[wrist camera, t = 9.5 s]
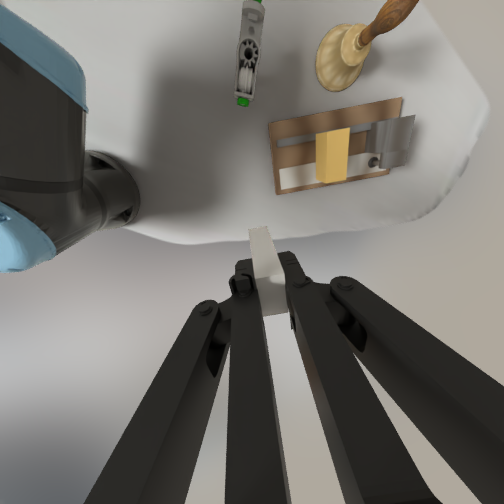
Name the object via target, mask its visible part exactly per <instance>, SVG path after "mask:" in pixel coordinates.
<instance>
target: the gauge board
mask: <svg viewBox="0 0 504 504" xmlns="http://www.w3.org/2000/svg"><path fill="white" fill-rule="evenodd" d="M401 102H402V97H399V98H394V99H389V100H384V101H379V102H374V103H369V104H363V105H358V106H353V107H348V108H343V109H338V110H333V111H328V112H323V113H318V114H313V115H308V116H303V117H297V118H292V119H287V120H282V121H277V122H272V123H269V124H268V126H269V135H270V145H271V154H272V164H273V173H274V183H275V193H276V195H280V194H285V193H291V192H296V191H301V190H307V189H312V188H317V187H323V186H328V185H334V184H339V183H344V182H350V181H355V180H360V179H366V178H371V177H376V176H382V175H387V174H389V170H390V168H393V167H398V166H404V165H405V163H406V158H407V153H408V148H409V144H410V139H411V134H412V129H413V125H414V120H415V115H411V116H406V117H401V118H399V113H400V108H401ZM344 128H350V133H349V147H348V160H347V174H346V180H343V181H337V182H332V183H323V182H321V181H318V180H316V134H318V133H323V132H328V131H334V130H339V129H344Z"/></svg>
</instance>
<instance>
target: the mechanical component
mask: <svg viewBox="0 0 504 504" xmlns="http://www.w3.org/2000/svg"><path fill="white" fill-rule="evenodd" d="M261 1H262V0H246V1H244V2H243V8H242V20H241V30H240V38H239V43H238V46H237V66H236V77H235V88H234V97H235V98H238V101H237V104H238V105H240V106H244V107H248V104H249V101H253V98H254V91H255V83H256V76H257V69H258V64H259V60H260V55H261V50H260V44H261V43H260V42H261V35H262V27H263V20H264V14H265V8H264V6H263V5H262V4H261Z"/></svg>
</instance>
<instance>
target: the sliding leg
mask: <svg viewBox="0 0 504 504" xmlns="http://www.w3.org/2000/svg"><path fill="white" fill-rule="evenodd" d="M349 133H350V128H344V129H339V130H334V131H328V132H323V133H318V134H316V180H318V181H321V182H323V183H332V182H337V181H343V180H346V174H347V160H348V147H349Z"/></svg>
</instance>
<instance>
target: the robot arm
mask: <svg viewBox="0 0 504 504" xmlns="http://www.w3.org/2000/svg"><path fill="white" fill-rule="evenodd" d="M86 113H88V108H87V106H86V80H85V75H84V72H83V70H82V68H81V66H80V65H79V64H78V62H77V61H76V60H75V59H74V57H73V56H72V55H70V54H69V53H68V52H67V51H66V50H65V49H64V48H62V47H61V46H60V45H59V44H57V43H56V42H55V41H53V40H52V39H51V38H49V37H48V36H46V35H45V34H44V33H42V32H41V31H39V30H38V29H37V28H35V27H34V26H32V25H31V24H29V23H28V22H27V21H25V20H24V19H22V18H21V17H19V16H18V15H16V14H15V13H13V12H12V11H10V10H9V9H7V8H6V7H4V6H3V5H2V4H0V272H2V273H12V272H19V271H24V270H27V269H30V268H32V267H34V266H36V265H38V264H40V263H42V262H44V261H47V260H51V259H53V258H54V257H55V256H56V255H58V254H59V253H61V252H62V251H64V250H66V249H67V248H69V247H71V246H72V245H74V244H76V243H77V242H79V241H80V240H82V239H84V238H85V237H87V236H89V235H90V234H92V233H93V232H95V231H101V230H110V229H116V228H119V227H122V226H124V225H125V224H127V223H128V222H130V221H131V220H132V219H133V218H134V217H135V216H136V214H137V212H138V210H139V206H140V196H139V191H138V188H137V186H136V184H135V182H134V180H133V178H132V177H131V175H130V174H129V173H128V172H127V171H126V169H125V168H124V167H123V166H121V165H120V164H119V163H118V162H116V161H115V160H113V159H112V158H110V157H108V156H106V155H104V154H101V153H98V152H94V151H85V135H86ZM248 230H249V238H250V245H251V253H252V258H251V259H245V260H240V261H238V262H237V264H236V265H235V275H233V276H232V277H231V278H230V280H229V286H230V289H231V292H232V296H231V297H230V298H229V299H227V300H225V301H223V302H221V303H219V304H218V303H217V302H216V301H214V300H205V301H203V302H200V303H199V304H198V305H196V306H195V308H194V309H193V310H192V312H191V314H190V316H189V318H188V319H187V321H186V323H185V325H184V326H183V328H182V330H181V332H180V334H179V335H178V337H177V339H176V341H175V343H174V344H173V346H172V348H171V350H170V351H169V353H168V355H167V357H166V358H165V360H164V362H163V364H162V366H161V367H160V369H159V371H158V373H157V374H156V376H155V378H154V380H153V381H152V383H151V385H150V387H149V389H148V390H147V392H146V394H145V396H144V397H143V399H142V401H141V403H140V405H139V406H138V408H137V410H136V412H135V414H134V415H133V417H132V419H131V421H130V423H129V424H128V426H127V428H126V429H125V431H124V433H123V435H122V437H121V438H120V440H119V442H118V444H117V445H116V447H115V449H114V451H113V453H112V455H111V456H110V458H109V460H108V461H107V463H106V465H105V467H104V468H103V470H102V472H101V474H100V476H99V477H98V479H97V481H96V483H95V485H94V486H93V488H92V490H91V492H90V493H89V495H88V497H87V499H86V500H85V502H84V504H184V503H185V500H186V497H187V493H188V490H189V486H190V482H191V479H192V476H193V472H194V469H195V465H196V462H197V458H198V455H199V451H200V448H201V444H202V441H203V437H204V434H205V430H206V427H207V424H208V420H209V417H210V413H211V410H212V406H213V403H214V399H215V396H216V392H217V389H218V385H219V382H220V378H221V375H222V371H223V368H224V364H225V361H226V357H227V354H228V350H229V347H230V368H229V396H228V424H227V451H226V452H227V453H226V479H225V504H291V497H290V490H289V484H288V477H287V471H286V465H285V458H284V451H283V445H282V438H281V432H280V425H279V418H278V412H277V405H276V398H275V392H274V386H273V379H272V372H271V365H270V359H269V352H268V346H267V339H266V333H265V326H264V321H263V317H264V316H270V315H276V314H281V313H287V312H288V309H289V312H290V321H291V329H293V330H294V334H295V337H296V340H297V344H298V347H299V350H300V353H301V357H302V360H303V364H304V367H305V370H306V374H307V377H308V380H309V384H310V387H311V390H312V394H313V397H314V400H315V404H316V407H317V410H318V414H319V417H320V420H321V423H322V427H323V430H324V434H325V437H326V440H327V443H328V447H329V450H330V453H331V457H332V460H333V463H334V467H335V470H336V473H337V477H338V480H339V483H340V487H341V490H342V493H343V496H344V500H345V503H346V504H443V503H441V502H440V501H439V500H438V499H437V498H436V497H435V496H434V494H433V493H432V492H431V490H430V489H429V488H428V486H427V484H426V483H425V481H424V479H423V478H422V476H421V474H420V472H419V470H418V469H417V467H416V465H415V463H414V462H413V460H412V458H411V456H410V454H409V453H408V451H407V449H406V447H405V446H404V444H403V442H402V440H401V438H400V436H399V435H398V433H397V431H396V429H395V427H394V426H393V424H392V422H391V420H390V419H389V417H388V415H387V413H386V411H385V410H384V408H383V406H382V404H381V402H380V401H379V399H378V397H377V395H376V393H375V392H374V390H373V388H372V386H371V384H370V383H369V381H368V379H367V377H366V376H365V374H364V372H363V370H362V369H361V366H360V365H359V363H358V361H357V359H356V358H355V356H354V354H355V355H356V357H357V358H358V359H359V360H360V361H361V362H362V364H363V365H364V366H365V367H366V368H367V369H368V371H369V372H370V373H371V374H372V375H373V376H374V378H375V379H376V380H377V381H378V382H379V383H380V385H381V386H382V387H383V388H384V389H385V391H386V392H387V393H388V394H389V395H390V396H391V398H392V399H393V400H394V401H395V402H396V404H397V405H398V406H399V407H400V408H401V409H402V411H403V412H404V413H405V414H406V415H407V416H408V418H410V420H411V421H412V422H413V423H414V425H415V426H416V427H417V428H418V429H419V431H420V432H421V433H422V434H423V435H424V436H425V438H426V439H427V440H428V441H429V442H430V443H431V445H432V446H433V447H434V448H435V449H436V450H437V452H438V453H439V454H440V455H441V456H442V457H443V459H444V460H445V461H446V462H447V463H448V464H449V466H450V467H451V468H452V469H453V470H454V471H455V473H456V474H457V475H458V476H459V477H460V478H461V480H462V481H463V482H464V483H465V484H466V486H467V487H468V488H469V489H470V490H471V492H472V493H473V494H474V495H475V496H476V497H477V499H478V500H479V501H480V502H481V503H482V504H504V386H503V385H501V384H500V383H498V382H497V381H496V380H494V379H493V378H492V377H490V376H489V375H487V374H486V373H484V372H483V371H482V370H480V369H479V368H478V367H476V366H475V365H473V364H472V363H471V362H469V361H468V360H467V359H465V358H464V357H462V356H461V355H459V354H458V353H457V352H455V351H454V350H453V349H451V348H450V347H449V346H447V345H446V344H444V343H443V342H442V341H440V340H439V339H437V338H436V337H435V336H433V335H432V334H431V333H429V332H427V331H426V330H425V329H424V328H422V327H421V326H419V325H418V324H417V323H415V322H414V321H412V320H411V319H410V318H408V317H407V316H406V315H404V314H403V313H401V312H400V311H398V310H397V309H396V308H394V307H393V306H392V305H390V304H389V303H387V302H386V301H385V300H383V299H382V298H381V297H379V296H378V295H376V294H375V293H374V292H372V291H371V290H369V289H368V288H367V287H365V286H364V285H363V284H361V283H360V282H358V281H357V280H355V279H353V278H350V277H347V276H339V277H335V278H333V279H332V280H331V282H330V284H322V283H315V282H313V280H311V278H310V277H307V276H306V275H305V274H304V272H303V269H302V268H301V266H300V264H299V262H298V260H297V258H296V256H295V254H293V253H292V252H290V251H287V252H281V253H277V252H276V250H275V247H274V244H273V241H272V239H271V236H270V233H269V231H268V228H267V226H264V227H259V228H253V229H248ZM353 353H354V354H353Z"/></svg>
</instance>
